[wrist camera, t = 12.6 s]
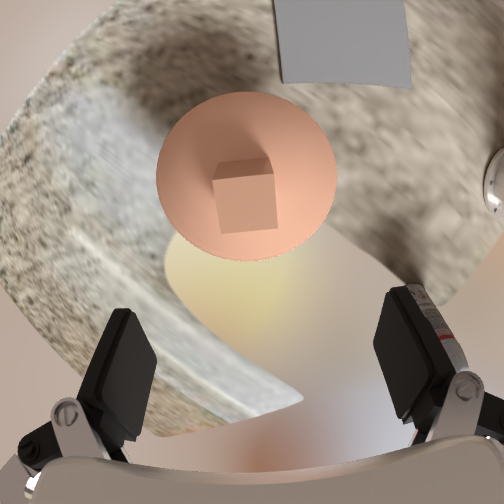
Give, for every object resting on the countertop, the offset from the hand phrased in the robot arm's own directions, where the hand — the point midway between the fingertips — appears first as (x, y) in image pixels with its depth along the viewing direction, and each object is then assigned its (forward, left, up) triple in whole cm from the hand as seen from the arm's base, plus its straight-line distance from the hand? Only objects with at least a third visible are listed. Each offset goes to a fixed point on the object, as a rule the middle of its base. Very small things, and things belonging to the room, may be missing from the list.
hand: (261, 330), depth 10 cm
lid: (+1, 0, -16) cm, 16 cm away
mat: (-12, -16, -26) cm, 33 cm away
